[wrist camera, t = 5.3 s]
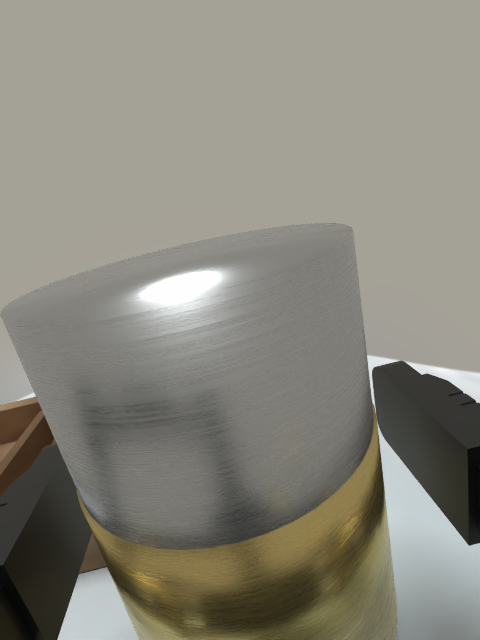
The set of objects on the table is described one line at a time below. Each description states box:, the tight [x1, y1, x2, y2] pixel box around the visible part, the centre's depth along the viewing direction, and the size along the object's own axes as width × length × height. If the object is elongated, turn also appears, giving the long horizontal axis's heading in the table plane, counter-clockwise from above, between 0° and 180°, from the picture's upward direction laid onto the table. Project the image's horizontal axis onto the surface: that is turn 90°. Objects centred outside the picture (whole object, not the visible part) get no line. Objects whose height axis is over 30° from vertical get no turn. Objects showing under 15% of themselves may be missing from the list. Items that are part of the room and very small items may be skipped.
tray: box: [0, 397, 107, 573], centre depth 20 cm, size 20×12×3 cm, turn 96°
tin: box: [1, 223, 398, 640], centre depth 9 cm, size 6×6×12 cm
